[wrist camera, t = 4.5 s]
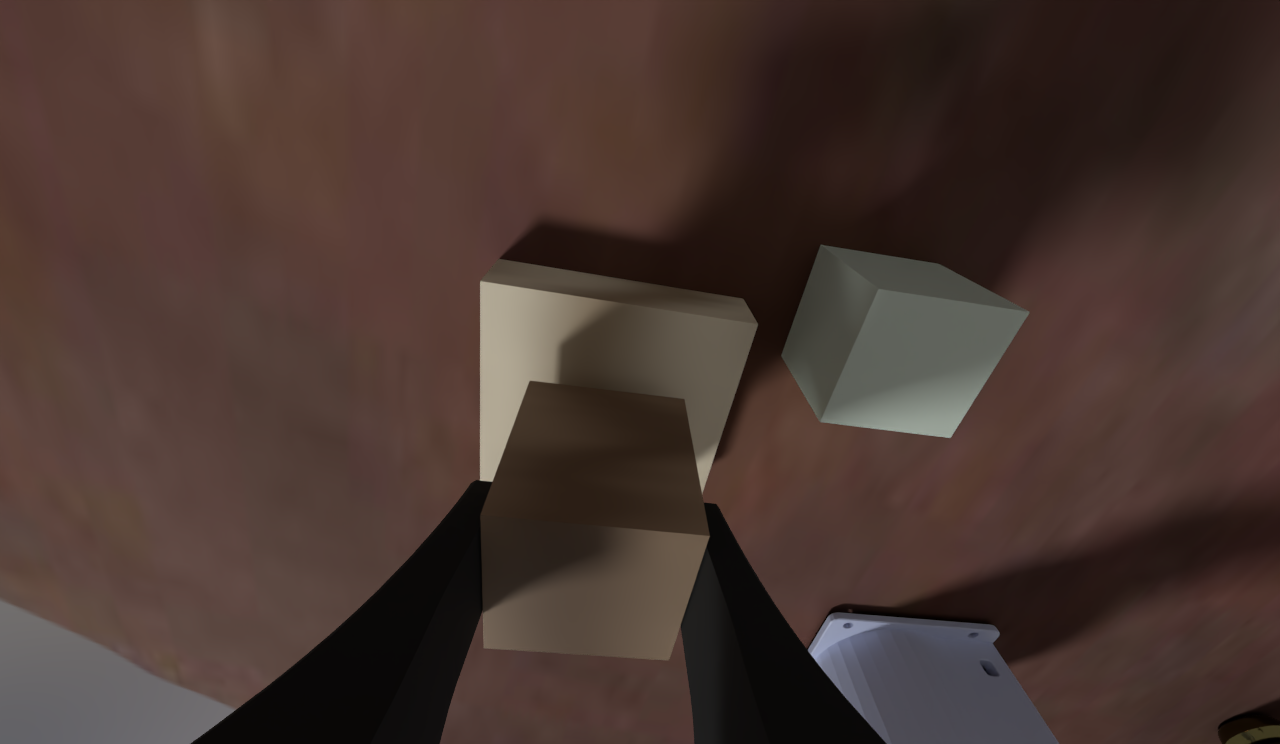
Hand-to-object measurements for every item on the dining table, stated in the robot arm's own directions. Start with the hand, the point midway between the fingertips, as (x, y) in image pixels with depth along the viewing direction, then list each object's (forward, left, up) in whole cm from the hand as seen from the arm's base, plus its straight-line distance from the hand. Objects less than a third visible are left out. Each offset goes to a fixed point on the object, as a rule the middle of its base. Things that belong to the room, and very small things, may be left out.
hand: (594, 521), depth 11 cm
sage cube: (-8, -4, -6) cm, 11 cm away
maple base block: (0, 0, -7) cm, 7 cm away
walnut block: (0, +1, -3) cm, 3 cm away
